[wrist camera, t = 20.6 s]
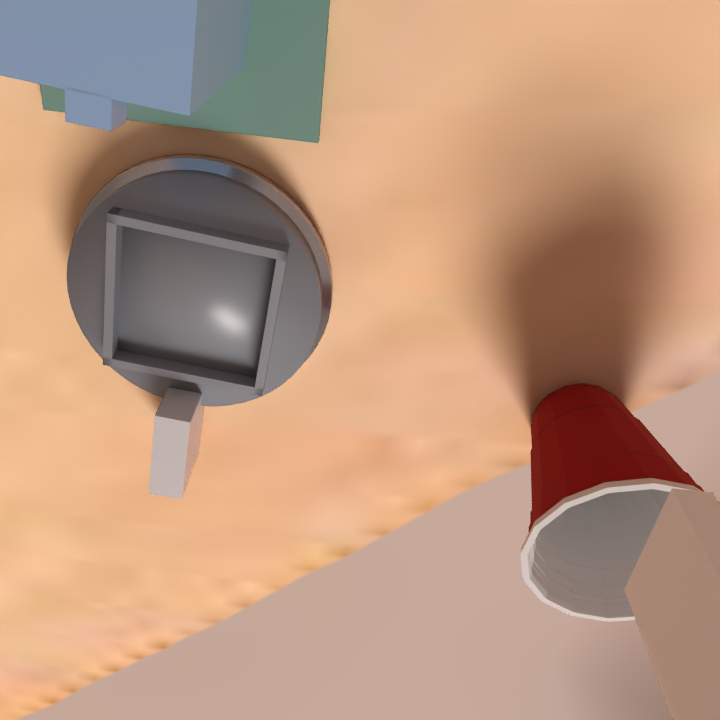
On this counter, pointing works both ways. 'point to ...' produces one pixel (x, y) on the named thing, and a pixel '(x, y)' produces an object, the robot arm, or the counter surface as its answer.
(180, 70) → the blue block
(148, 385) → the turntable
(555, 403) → the plastic cup
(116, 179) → the turntable base
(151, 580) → the counter surface
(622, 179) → the counter surface
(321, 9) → the plate
